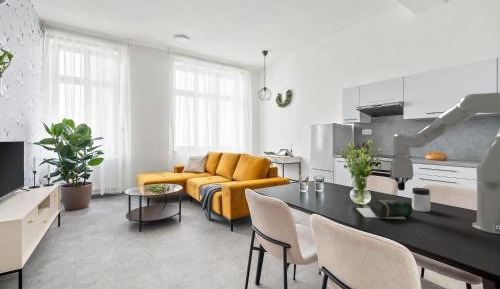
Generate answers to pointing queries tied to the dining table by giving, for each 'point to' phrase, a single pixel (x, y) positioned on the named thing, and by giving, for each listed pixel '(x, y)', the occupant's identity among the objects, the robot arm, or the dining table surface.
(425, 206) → the jar
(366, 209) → the mat
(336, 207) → the dining table surface
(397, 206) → the coffee jar
